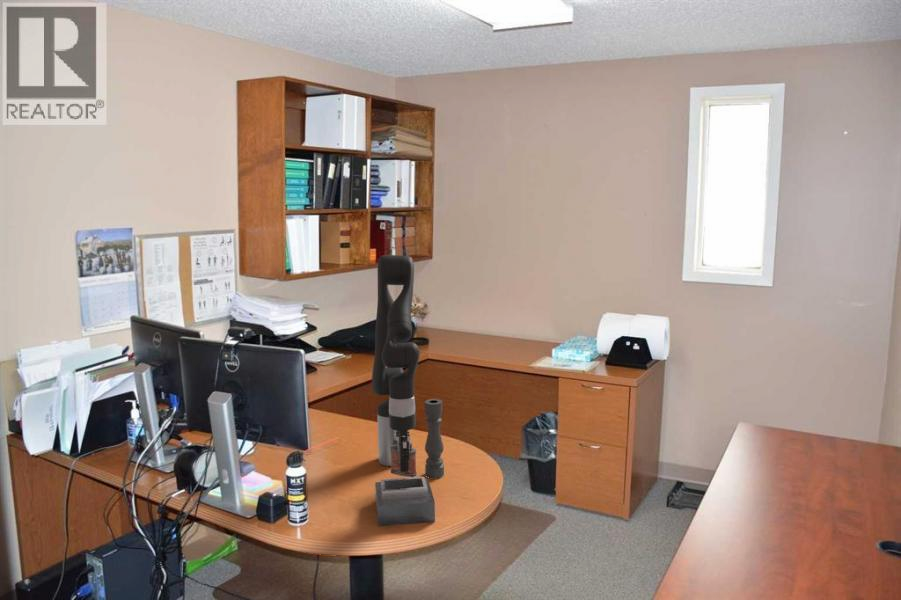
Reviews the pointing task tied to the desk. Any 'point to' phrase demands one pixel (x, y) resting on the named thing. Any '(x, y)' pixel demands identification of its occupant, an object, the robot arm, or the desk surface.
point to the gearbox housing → (404, 501)
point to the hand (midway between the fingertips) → (403, 467)
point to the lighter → (396, 461)
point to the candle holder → (434, 439)
